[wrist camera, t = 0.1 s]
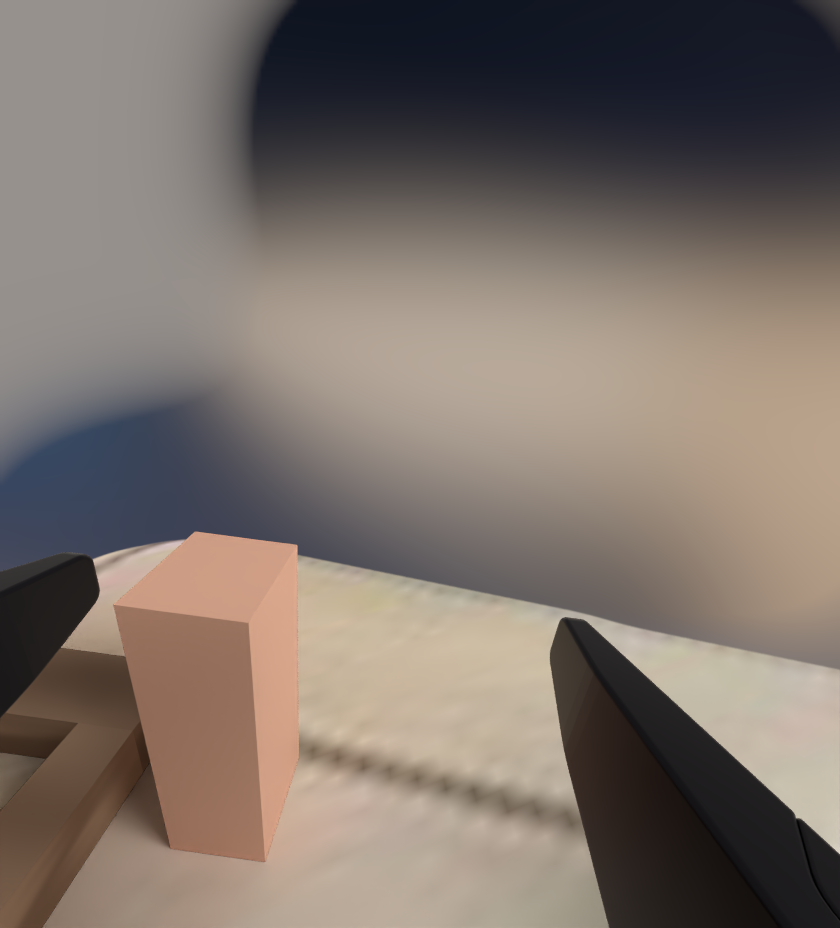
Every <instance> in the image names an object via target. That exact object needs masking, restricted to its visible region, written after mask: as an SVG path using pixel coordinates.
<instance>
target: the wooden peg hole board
mask: <svg viewBox="0 0 840 928" xmlns="http://www.w3.org/2000/svg"><path fill="white" fill-rule="evenodd" d="M0 752H3V753H10V754H18V755H25V756H32V757H39V758H46V760H45V761H44V762H43V763H42V765H41V766H40V767H39V768H38V769H37V770H36V771H35V773H34V774H33V775H32V776H31V777H30V778H29V779H28V780H27V782H26V783H25V784H24V785H23V786H22V787H21V788H20V789H19V791H18V792H17V793H16V794H15V795H14V796H13V797H12V799H11V800H10V801H9V802H8V803H7V804H6V805H5V806H4V808H3V809H2V810H1V811H0V928H42V927H43V925H44V924H45V922H46V921H47V919H48V918H49V916H50V915H51V913H52V911H53V910H54V908H55V907H56V905H57V904H58V902H59V901H60V899H61V898H62V896H63V895H64V893H65V891H66V890H67V888H68V887H69V885H70V884H71V882H72V881H73V879H74V878H75V876H76V875H77V873H78V872H79V870H80V868H81V867H82V865H83V864H84V862H85V861H86V859H87V858H88V856H89V855H90V853H91V852H92V850H93V848H94V847H95V845H96V844H97V842H98V841H99V839H100V838H101V836H102V835H103V833H104V832H105V830H106V829H107V827H108V825H109V824H110V822H111V821H112V819H113V818H114V816H115V815H116V813H117V812H118V810H119V809H120V807H121V805H122V804H123V802H124V801H125V799H126V798H127V796H128V795H129V793H130V792H131V790H132V789H133V787H134V785H135V784H136V782H137V781H138V779H139V778H140V776H141V775H142V773H143V772H144V770H145V769H146V767H147V766H148V764H149V762H150V758H149V754H148V750H147V746H146V741H145V737H144V733H143V729H142V724H141V720H140V716H139V712H138V707H137V703H136V699H135V695H134V690H133V686H132V682H131V678H130V673H129V669H128V665H127V661H126V657H124V656H117V655H109V654H102V653H95V652H87V651H80V650H73V649H65V648H60V649H59V650H58V652H57V653H56V654H55V655H54V657H53V658H52V659H51V661H50V662H49V663H48V664H47V666H46V667H45V668H44V669H43V671H42V672H41V673H40V674H39V676H38V677H37V678H36V679H35V680H34V682H33V683H32V684H31V685H30V686H29V687H28V688H27V690H26V691H25V692H24V693H23V694H22V695H21V696H20V697H19V699H18V700H17V701H16V702H15V703H14V704H13V705H12V706H11V707H10V708H9V710H8V711H7V712H6V713H5V714H4V715H3V716H2V717H1V718H0Z"/></svg>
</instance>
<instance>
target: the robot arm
mask: <svg viewBox="0 0 840 928" xmlns="http://www.w3.org/2000/svg"><path fill="white" fill-rule="evenodd" d="M99 592H100V588H99V583H98V579H97V575H96V570H95V566H94V562H93V560H92V558H91V557H90V556H88V555H86V554H79V553H71V552H65V553H60V554H56V555H53V556H50V557H47V558H44V559H40V560H37V561H34V562H30V563H27V564H24V565H21V566H17V567H14V568H11V569H8V570H4V571H1V572H0V718H1V717H2V716H3V715H4V714H5V713H6V712H7V711H8V710H9V708H10V707H11V706H12V705H13V704H14V703H15V702H16V701H17V700H18V699H19V697H20V696H21V695H22V694H23V693H24V692H25V691H26V690H27V688H28V687H29V686H30V685H31V684H32V683H33V682H34V680H35V679H36V678H37V677H38V676H39V674H40V673H41V672H42V671H43V669H44V668H45V667H46V666H47V664H48V663H49V662H50V661H51V659H52V658H53V657H54V655H55V654H56V653H57V652H58V650H59V649H60V648H61V646H62V645H63V644H64V643H65V641H66V640H67V639H68V637H69V636H70V635H71V634H72V632H73V631H74V630H75V629H76V627H77V626H78V625H79V623H80V622H81V621H82V620H83V618H84V617H85V616H86V614H87V613H88V612H89V611H90V609H91V608H92V607H93V605H94V604H95V603H96V601H97V599H98V597H99ZM550 665H551V671H552V678H553V684H554V691H555V697H556V704H557V710H558V716H559V723H560V729H561V736H562V741H563V747H564V752H565V756H566V761H567V765H568V769H569V773H570V777H571V781H572V785H573V789H574V793H575V796H576V800H577V804H578V808H579V812H580V816H581V820H582V824H583V828H584V831H585V835H586V839H587V843H588V847H589V851H590V855H591V859H592V863H593V867H594V870H595V874H596V878H597V882H598V886H599V890H600V894H601V898H602V902H603V905H604V909H605V913H606V917H607V921H608V925H609V928H840V854H839V853H838V852H837V851H836V850H835V849H833V848H832V847H831V846H830V845H829V844H828V843H827V842H826V841H825V840H824V839H823V838H822V837H820V836H819V835H818V834H817V833H816V832H815V831H814V830H813V829H812V828H811V827H810V826H808V825H807V824H806V823H805V822H804V821H803V820H802V819H800V818H796V817H795V814H794V812H793V811H792V810H791V809H790V808H789V807H788V806H786V805H785V804H784V803H783V802H782V801H781V800H780V799H779V798H778V797H777V796H776V795H775V794H773V793H772V792H771V791H770V790H769V789H768V788H767V787H766V786H765V785H764V784H763V783H761V782H760V781H759V780H758V779H757V778H756V777H755V776H754V775H753V774H752V773H751V772H750V771H748V770H747V769H746V768H745V767H744V766H743V765H742V764H741V763H740V762H739V761H738V760H737V759H735V758H734V757H733V756H732V755H731V754H730V753H729V752H728V751H727V750H726V749H725V748H723V747H722V746H721V745H720V744H719V743H718V742H717V741H716V740H715V739H714V738H713V737H712V736H710V735H709V734H708V733H707V732H706V731H705V730H704V729H703V728H702V727H701V726H700V725H698V724H697V723H696V722H695V721H694V720H693V719H692V718H691V717H690V716H689V715H688V714H687V713H685V712H684V711H683V710H682V709H681V708H680V707H679V706H678V705H677V704H676V703H675V702H674V701H672V700H671V699H670V698H669V697H668V696H667V695H666V694H665V693H664V692H663V691H662V690H660V689H659V688H658V687H657V686H656V685H655V684H654V683H653V682H652V681H651V680H650V679H649V678H647V677H646V676H645V675H644V674H643V673H642V672H641V671H640V670H639V669H638V668H637V667H635V666H634V665H633V664H632V663H631V662H630V661H629V660H628V659H627V658H626V657H625V656H624V655H622V654H621V653H620V652H619V651H618V650H617V649H616V648H615V647H614V646H613V645H612V644H610V643H609V642H608V641H607V640H606V639H605V638H604V637H603V636H602V635H601V634H600V633H599V632H597V631H596V630H595V629H594V628H593V627H592V626H591V625H590V624H589V623H588V622H586V621H585V620H582V619H575V618H568V617H565V618H562V619H561V620H560V622H559V625H558V628H557V631H556V634H555V637H554V640H553V644H552V647H551V650H550Z"/></svg>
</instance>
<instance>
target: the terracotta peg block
mask: <svg viewBox="0 0 840 928" xmlns="http://www.w3.org/2000/svg"><path fill="white" fill-rule="evenodd" d="M114 610H115V614H116V618H117V622H118V627H119V631H120V635H121V639H122V644H123V648H124V652H125V656H126V661H127V665H128V669H129V673H130V678H131V682H132V686H133V690H134V695H135V699H136V703H137V707H138V712H139V716H140V720H141V724H142V729H143V733H144V737H145V741H146V746H147V750H148V754H149V758H150V763H151V767H152V771H153V775H154V780H155V784H156V788H157V792H158V797H159V801H160V805H161V809H162V814H163V818H164V822H165V826H166V831H167V835H168V839H169V843H170V848H171V849H177V850H184V851H191V852H198V853H205V854H212V855H219V856H226V857H233V858H240V859H247V860H254V861H261V862H265V861H266V858H267V855H268V852H269V849H270V846H271V843H272V840H273V836H274V833H275V830H276V827H277V824H278V821H279V818H280V815H281V812H282V809H283V806H284V803H285V800H286V796H287V793H288V790H289V787H290V784H291V781H292V778H293V775H294V772H295V769H296V766H297V763H298V760H299V722H298V585H297V545H293V544H285V543H278V542H270V541H262V540H254V539H246V538H240V537H239V538H238V537H232V536H224V535H217V534H209V533H201V532H194V533H193V534H192V535H191V536H190V537H189V538H188V539H186V540H185V541H184V542H183V543H182V544H181V545H180V546H179V547H177V548H176V549H175V550H174V551H173V552H172V553H171V554H170V555H169V556H167V557H166V558H165V559H164V560H163V561H162V562H161V563H160V564H158V565H157V566H156V567H155V568H154V569H153V570H152V571H151V572H149V573H148V574H147V575H146V576H145V577H144V578H143V579H142V580H141V581H139V582H138V583H137V584H136V585H135V586H134V587H133V588H132V589H130V590H129V591H128V592H127V593H126V594H125V595H124V596H123V597H121V598H120V599H119V600H118V601H117V602H116V603H115V604H114Z"/></svg>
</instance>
